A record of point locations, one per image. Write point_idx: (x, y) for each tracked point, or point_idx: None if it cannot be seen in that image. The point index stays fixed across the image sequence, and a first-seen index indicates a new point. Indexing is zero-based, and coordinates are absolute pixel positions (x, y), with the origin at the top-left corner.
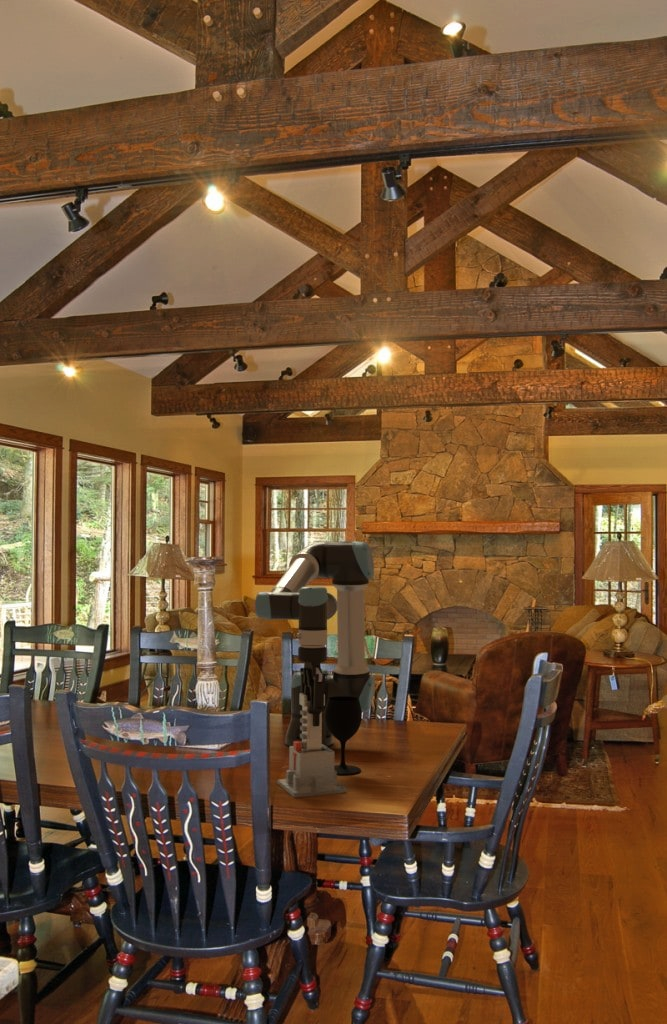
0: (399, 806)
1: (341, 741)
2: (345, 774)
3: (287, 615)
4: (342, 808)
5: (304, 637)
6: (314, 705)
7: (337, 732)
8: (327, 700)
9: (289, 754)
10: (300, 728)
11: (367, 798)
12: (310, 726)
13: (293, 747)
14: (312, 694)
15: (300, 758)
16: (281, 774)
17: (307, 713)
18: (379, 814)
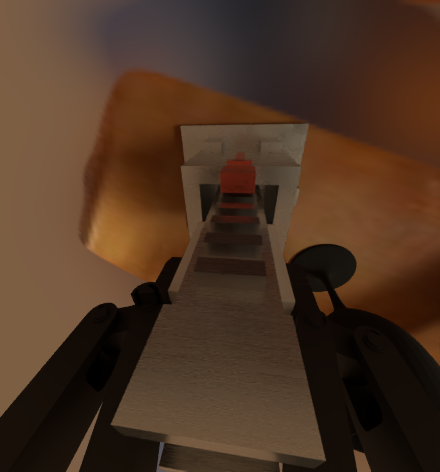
0: (120, 260)
1: (337, 308)
2: (291, 263)
3: None
4: (110, 191)
5: None
6: (69, 343)
7: (333, 319)
8: None
9: (294, 161)
10: (251, 219)
11: (159, 242)
12: (187, 248)
13: (253, 167)
14: (88, 461)
15: (184, 163)
16: (376, 158)
17: (183, 282)
18: (84, 227)
